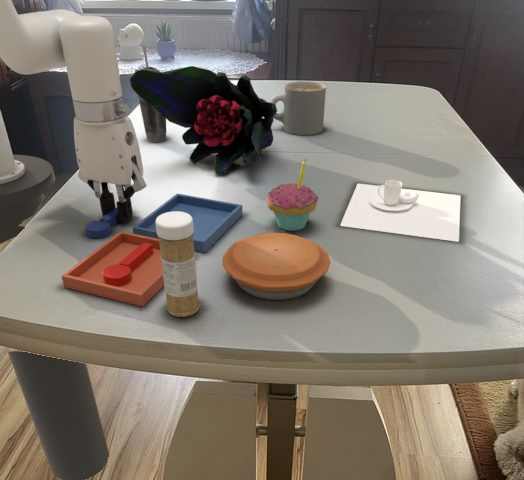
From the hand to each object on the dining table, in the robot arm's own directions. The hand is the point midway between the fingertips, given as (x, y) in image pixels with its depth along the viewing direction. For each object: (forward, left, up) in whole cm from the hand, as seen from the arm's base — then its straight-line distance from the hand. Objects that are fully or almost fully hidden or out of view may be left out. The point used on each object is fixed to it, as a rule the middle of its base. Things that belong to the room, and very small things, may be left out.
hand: (118, 218), depth 97 cm
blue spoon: (0, -2, 0) cm, 3 cm away
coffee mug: (+12, +62, 0) cm, 63 cm away
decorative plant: (+6, +32, 0) cm, 32 cm away
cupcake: (+29, +10, 0) cm, 31 cm away
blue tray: (+13, +3, 0) cm, 13 cm away
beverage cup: (-16, +41, 0) cm, 44 cm away
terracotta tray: (+12, -14, 0) cm, 19 cm away
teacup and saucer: (+46, +24, 0) cm, 52 cm away
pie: (+33, -8, 0) cm, 34 cm away
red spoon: (+12, -14, 0) cm, 19 cm away
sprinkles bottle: (+24, -20, 0) cm, 32 cm away
